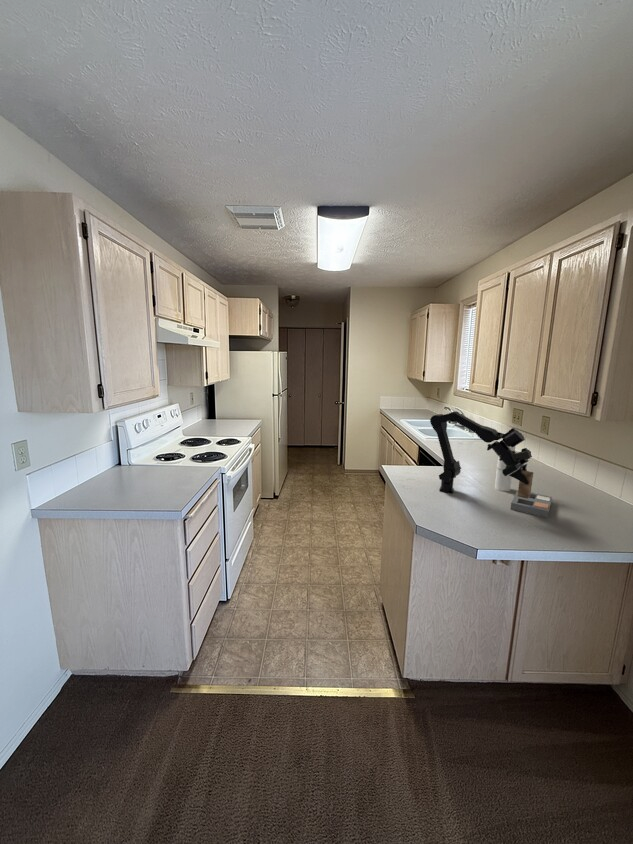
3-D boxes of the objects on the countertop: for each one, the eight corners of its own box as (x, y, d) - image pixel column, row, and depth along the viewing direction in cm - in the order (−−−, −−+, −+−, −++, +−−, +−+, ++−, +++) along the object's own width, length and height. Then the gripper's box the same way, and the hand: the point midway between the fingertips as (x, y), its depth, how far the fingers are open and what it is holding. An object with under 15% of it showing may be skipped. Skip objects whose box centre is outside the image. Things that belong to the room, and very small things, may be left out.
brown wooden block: (517, 496, 152) (520, 472, 150) (519, 493, 155) (523, 470, 153) (527, 498, 149) (531, 474, 147) (530, 496, 152) (533, 472, 150)
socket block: (510, 509, 155) (511, 502, 155) (516, 495, 171) (517, 489, 170) (547, 517, 147) (548, 510, 146) (550, 503, 163) (551, 496, 162)
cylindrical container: (512, 491, 176) (518, 443, 172) (496, 490, 177) (502, 443, 173) (507, 486, 183) (513, 440, 178) (492, 485, 184) (498, 439, 180)
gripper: (513, 446, 144) (541, 478, 138) (526, 439, 157) (551, 468, 152) (491, 460, 151) (516, 491, 145) (505, 453, 164) (528, 481, 158)
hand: (529, 482), depth 150 cm, fingers closed on brown wooden block, 4 cm apart
